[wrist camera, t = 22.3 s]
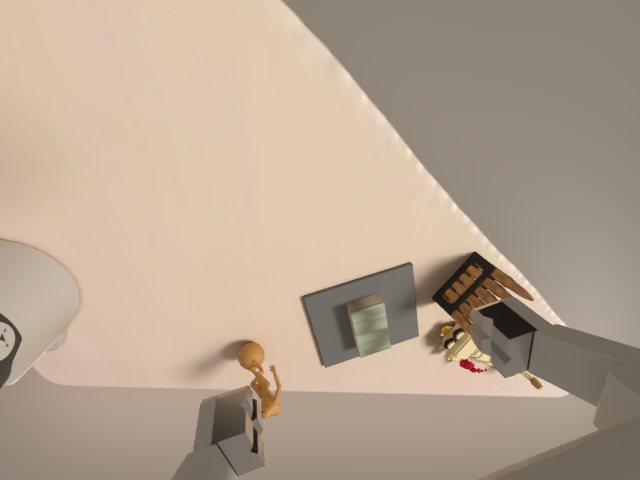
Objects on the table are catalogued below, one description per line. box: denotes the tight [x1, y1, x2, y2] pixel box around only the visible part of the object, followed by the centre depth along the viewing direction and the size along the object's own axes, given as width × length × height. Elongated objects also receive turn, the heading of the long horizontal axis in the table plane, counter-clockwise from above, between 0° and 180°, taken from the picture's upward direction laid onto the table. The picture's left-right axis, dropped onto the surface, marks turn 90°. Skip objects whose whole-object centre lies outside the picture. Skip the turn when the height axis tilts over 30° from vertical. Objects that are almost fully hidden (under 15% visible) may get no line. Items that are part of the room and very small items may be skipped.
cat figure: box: [440, 324, 543, 390], centre depth 58 cm, size 10×9×25 cm
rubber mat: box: [303, 262, 419, 368], centre depth 51 cm, size 18×16×1 cm
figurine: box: [238, 343, 281, 418], centre depth 44 cm, size 8×6×12 cm
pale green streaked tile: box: [346, 294, 391, 358], centre depth 50 cm, size 6×2×10 cm
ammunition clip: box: [432, 252, 534, 334], centre depth 47 cm, size 11×2×12 cm, turn 142°
